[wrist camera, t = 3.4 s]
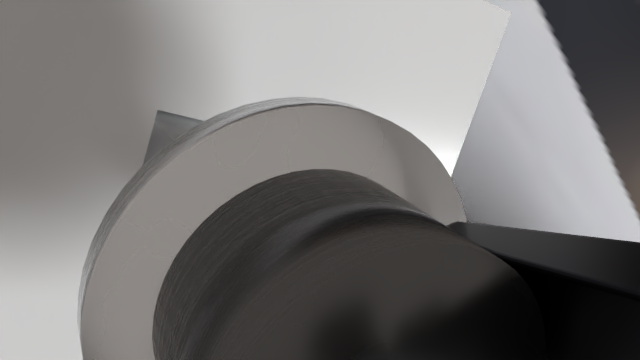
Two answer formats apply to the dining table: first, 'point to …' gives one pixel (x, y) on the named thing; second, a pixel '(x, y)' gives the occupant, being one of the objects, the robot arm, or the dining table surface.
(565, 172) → the dining table surface
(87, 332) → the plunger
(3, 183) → the pale grey box
